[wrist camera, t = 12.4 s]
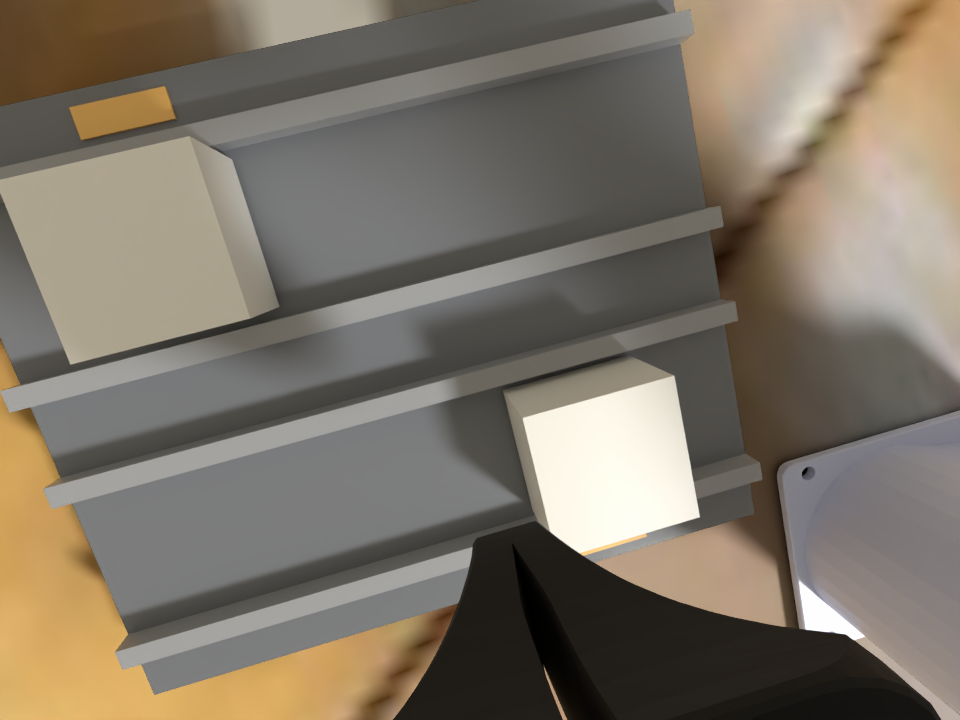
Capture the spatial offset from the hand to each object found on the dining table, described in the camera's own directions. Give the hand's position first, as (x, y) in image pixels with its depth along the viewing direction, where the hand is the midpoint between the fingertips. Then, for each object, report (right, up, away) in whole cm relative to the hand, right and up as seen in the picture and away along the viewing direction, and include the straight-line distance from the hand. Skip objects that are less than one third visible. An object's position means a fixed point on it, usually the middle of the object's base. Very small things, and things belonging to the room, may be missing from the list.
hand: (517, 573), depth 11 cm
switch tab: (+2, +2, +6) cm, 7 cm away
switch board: (-4, +5, +7) cm, 9 cm away
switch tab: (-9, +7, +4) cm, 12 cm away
